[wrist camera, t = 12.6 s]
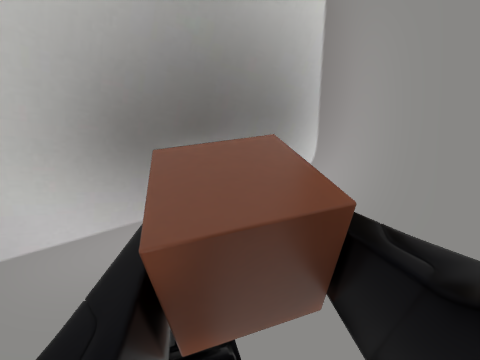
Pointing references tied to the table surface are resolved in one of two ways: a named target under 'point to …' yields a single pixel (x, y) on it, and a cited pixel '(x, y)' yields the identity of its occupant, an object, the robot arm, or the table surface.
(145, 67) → the table surface
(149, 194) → the block
